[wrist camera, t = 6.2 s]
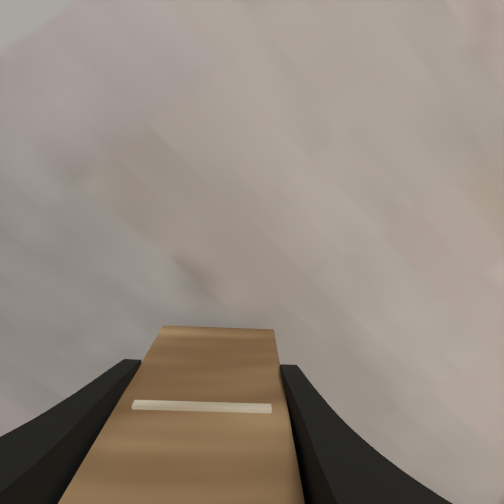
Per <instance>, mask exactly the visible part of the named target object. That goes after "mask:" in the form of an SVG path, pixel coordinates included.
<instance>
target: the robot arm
mask: <svg viewBox="0 0 504 504" xmlns="http://www.w3.org/2000/svg"><path fill="white" fill-rule="evenodd" d="M140 365H141V360H132V359H124V360H122V361H121V362H119V363H118V364H116V365H115V366H113V367H112V368H111V369H109V370H108V371H106V372H105V373H103V374H102V375H101V376H99V377H98V378H96V379H95V380H93V381H92V382H91V383H89V384H88V385H86V386H85V387H83V388H82V389H80V390H79V391H77V392H76V393H74V394H73V395H71V396H70V397H68V398H67V399H65V400H63V401H62V402H60V403H59V404H57V405H56V406H54V407H53V408H51V409H49V410H48V411H46V412H45V413H43V414H41V415H39V416H38V417H36V418H34V419H33V420H31V421H29V422H27V423H25V424H24V425H22V426H20V427H18V428H16V429H14V430H13V431H11V432H9V433H7V434H5V435H3V436H1V437H0V504H58V503H59V501H60V499H61V498H62V496H63V494H64V492H65V491H66V489H67V487H68V486H69V484H70V482H71V481H72V479H73V477H74V476H75V474H76V472H77V471H78V469H79V467H80V465H81V464H82V462H83V460H84V459H85V457H86V455H87V454H88V452H89V450H90V449H91V447H92V445H93V444H94V442H95V440H96V439H97V437H98V435H99V433H100V432H101V430H102V428H103V427H104V425H105V423H106V422H107V420H108V418H109V417H110V415H111V413H112V412H113V410H114V408H115V407H116V405H117V403H118V401H119V400H120V398H121V396H122V395H123V393H124V391H125V390H126V388H127V387H128V385H129V384H130V382H131V381H132V379H133V377H134V376H135V374H136V372H137V371H138V369H139V367H140ZM280 372H281V377H282V383H283V388H284V391H285V396H286V401H287V407H288V413H289V418H290V424H291V429H292V435H293V440H294V446H295V451H296V457H297V462H298V468H299V473H300V479H301V484H302V490H303V495H304V501H305V504H452V503H450V502H449V501H447V500H445V499H444V498H442V497H441V496H439V495H437V494H436V493H434V492H433V491H431V490H430V489H428V488H427V487H425V486H424V485H422V484H421V483H419V482H418V481H416V480H415V479H413V478H412V477H411V476H409V475H408V474H406V473H405V472H403V471H402V470H401V469H399V468H398V467H397V466H395V465H394V464H393V463H392V462H390V461H389V460H388V459H386V458H385V457H384V456H382V455H381V454H380V453H379V452H377V451H376V450H375V449H374V448H373V447H371V446H370V445H369V444H368V443H367V442H366V441H365V440H363V439H362V438H361V437H360V436H359V435H358V434H357V433H356V432H354V431H353V430H352V429H351V428H350V427H349V426H348V425H347V424H346V423H345V422H344V421H343V420H342V419H341V418H340V417H339V416H338V415H337V414H336V413H335V411H334V410H333V409H332V408H331V407H330V406H329V405H328V404H327V402H326V401H325V400H324V399H323V398H322V396H321V395H320V394H319V393H318V392H317V390H316V389H315V388H314V387H313V385H312V384H311V383H310V382H309V380H308V379H307V378H306V376H305V375H304V374H303V372H302V371H301V370H300V368H299V367H298V366H297V365H281V364H280Z"/></svg>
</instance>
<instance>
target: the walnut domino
mask: <svg viewBox="0 0 504 504" xmlns="http://www.w3.org/2000/svg"><path fill="white" fill-rule="evenodd" d="M58 504H305V501H304V495H303V490H302V484H301V479H300V473H299V468H298V462H297V457H296V451H295V446H294V440H293V435H292V429H291V424H290V418H289V413H288V407H287V401H286V396H285V391H284V388H283V383H282V377H281V372H280V363H279V357H278V352H277V346H276V341H275V335H274V330H269V329H241V328H213V327H186V326H163V327H162V329H161V331H160V332H159V334H158V336H157V337H156V339H155V341H154V342H153V344H152V346H151V348H150V349H149V351H148V353H147V354H146V356H145V358H144V359H143V361H142V363H141V365H140V367H139V369H138V371H137V372H136V374H135V376H134V377H133V379H132V381H131V382H130V384H129V385H128V387H127V388H126V390H125V391H124V393H123V395H122V396H121V398H120V400H119V401H118V403H117V405H116V407H115V408H114V410H113V412H112V413H111V415H110V417H109V418H108V420H107V422H106V423H105V425H104V427H103V428H102V430H101V432H100V433H99V435H98V437H97V439H96V440H95V442H94V444H93V445H92V447H91V449H90V450H89V452H88V454H87V455H86V457H85V459H84V460H83V462H82V464H81V465H80V467H79V469H78V471H77V472H76V474H75V476H74V477H73V479H72V481H71V482H70V484H69V486H68V487H67V489H66V491H65V492H64V494H63V496H62V498H61V499H60V501H59V503H58Z"/></svg>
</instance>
